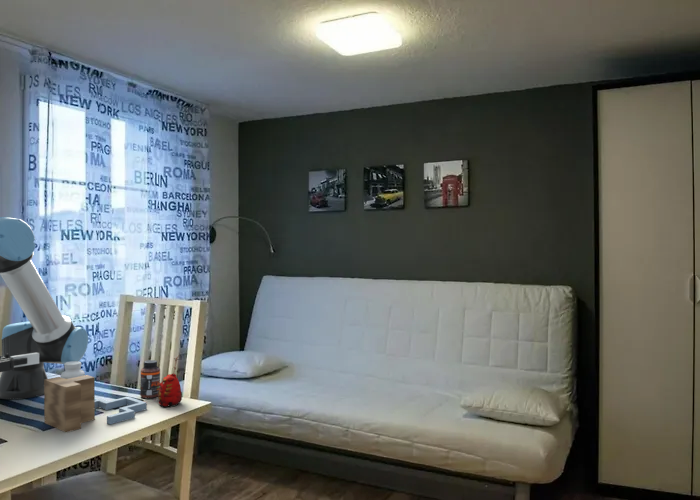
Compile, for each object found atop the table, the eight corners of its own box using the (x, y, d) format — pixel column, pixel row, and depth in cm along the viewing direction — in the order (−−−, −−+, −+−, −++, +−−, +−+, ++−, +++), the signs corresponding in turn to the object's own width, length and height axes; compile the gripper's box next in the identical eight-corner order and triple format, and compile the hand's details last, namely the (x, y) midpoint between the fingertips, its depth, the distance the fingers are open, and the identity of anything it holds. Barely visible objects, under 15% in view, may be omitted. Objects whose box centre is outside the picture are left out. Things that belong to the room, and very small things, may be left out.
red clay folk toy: (155, 402, 177) (156, 354, 176) (178, 399, 180) (179, 352, 180) (160, 409, 170) (160, 359, 170) (184, 406, 174) (184, 357, 173)
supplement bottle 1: (88, 404, 173) (88, 362, 173) (65, 409, 169) (65, 366, 168) (79, 400, 178) (79, 359, 178) (57, 404, 173) (57, 362, 173)
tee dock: (76, 411, 167) (76, 404, 167) (120, 400, 178) (120, 394, 178) (109, 424, 156) (109, 417, 156) (154, 411, 167) (154, 405, 167)
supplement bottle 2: (153, 399, 180) (153, 363, 179) (136, 398, 181) (136, 362, 180) (163, 394, 185) (163, 359, 185) (146, 393, 187) (146, 358, 186)
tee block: (44, 422, 157) (44, 379, 156) (80, 413, 165) (79, 372, 164) (66, 432, 150) (65, 387, 149) (102, 422, 158) (102, 379, 157)
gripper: (-78, 385, 136) (26, 368, 155) (-58, 395, 128) (49, 375, 147) (-78, 354, 136) (26, 340, 154) (-58, 362, 128) (49, 347, 147)
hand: (37, 357), depth 151 cm, fingers closed
